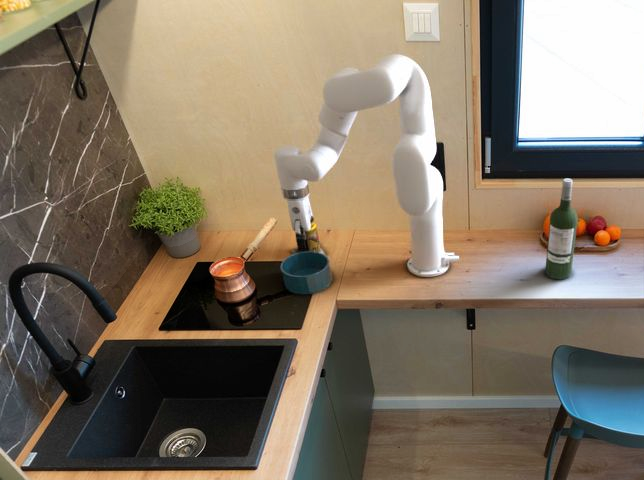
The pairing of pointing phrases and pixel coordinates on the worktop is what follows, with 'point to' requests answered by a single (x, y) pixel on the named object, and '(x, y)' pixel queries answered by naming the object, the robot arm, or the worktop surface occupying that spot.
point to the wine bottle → (562, 236)
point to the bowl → (306, 272)
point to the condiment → (311, 239)
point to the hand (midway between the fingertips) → (305, 242)
